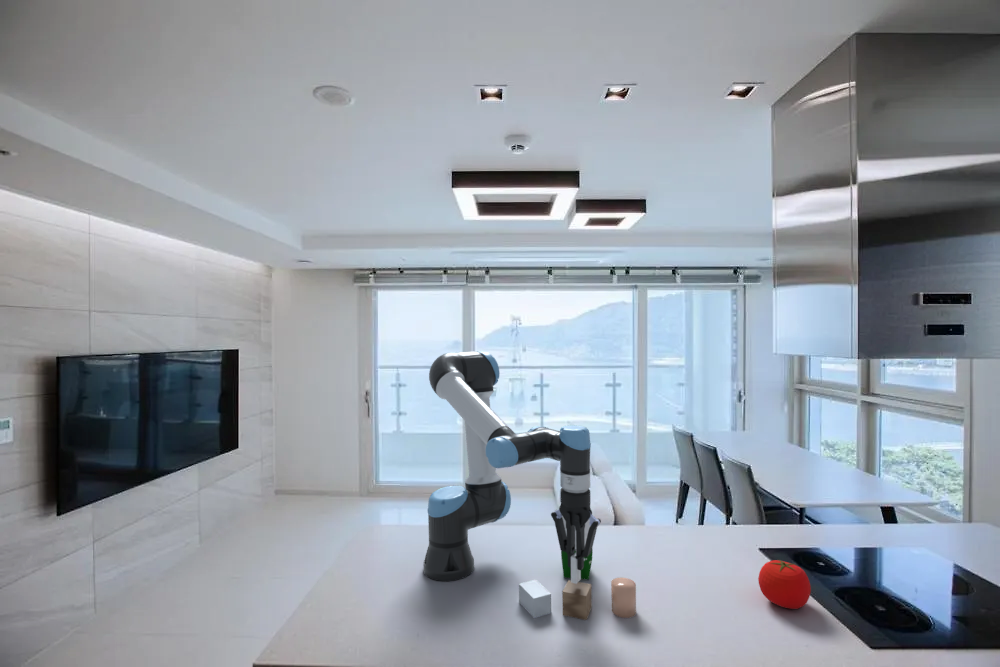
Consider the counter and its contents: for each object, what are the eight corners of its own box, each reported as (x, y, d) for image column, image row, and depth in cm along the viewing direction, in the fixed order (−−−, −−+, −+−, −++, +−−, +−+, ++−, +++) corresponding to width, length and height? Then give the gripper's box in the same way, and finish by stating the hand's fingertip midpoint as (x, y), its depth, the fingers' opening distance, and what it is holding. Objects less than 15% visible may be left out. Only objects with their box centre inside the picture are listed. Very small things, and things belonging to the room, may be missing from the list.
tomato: (815, 602, 128) (815, 561, 128) (802, 622, 119) (802, 579, 119) (768, 586, 136) (767, 548, 136) (752, 605, 127) (752, 564, 127)
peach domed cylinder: (608, 613, 125) (607, 585, 125) (616, 602, 130) (615, 575, 130) (631, 620, 122) (631, 592, 121) (639, 608, 127) (638, 581, 126)
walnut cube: (562, 615, 124) (562, 591, 124) (568, 603, 130) (568, 580, 130) (586, 620, 122) (586, 596, 122) (591, 607, 128) (591, 584, 128)
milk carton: (562, 564, 151) (561, 498, 150) (593, 567, 149) (592, 500, 149) (560, 579, 142) (559, 509, 142) (592, 581, 140) (591, 511, 140)
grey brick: (519, 602, 131) (518, 583, 131) (536, 598, 133) (535, 579, 133) (533, 618, 123) (533, 598, 123) (551, 613, 125) (551, 593, 125)
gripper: (545, 488, 126) (546, 580, 127) (594, 497, 119) (594, 595, 120) (558, 480, 132) (559, 567, 133) (605, 488, 125) (605, 581, 126)
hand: (575, 580), depth 126 cm, fingers closed
